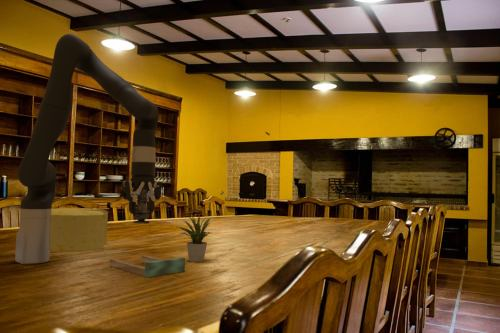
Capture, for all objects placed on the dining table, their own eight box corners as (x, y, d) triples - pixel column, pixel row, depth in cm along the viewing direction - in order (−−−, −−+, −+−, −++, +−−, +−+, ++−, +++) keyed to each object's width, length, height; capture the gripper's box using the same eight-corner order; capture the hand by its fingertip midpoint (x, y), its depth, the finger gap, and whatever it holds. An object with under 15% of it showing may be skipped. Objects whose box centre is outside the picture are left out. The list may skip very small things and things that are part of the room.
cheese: (122, 246, 175) (123, 210, 175) (65, 254, 153) (67, 213, 153) (82, 240, 189) (83, 207, 189) (24, 247, 167) (26, 209, 167)
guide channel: (147, 277, 119) (148, 263, 120) (109, 265, 134) (110, 253, 134) (184, 271, 129) (185, 258, 129) (145, 261, 144) (145, 249, 144)
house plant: (194, 255, 159) (195, 211, 159) (224, 259, 151) (226, 213, 152) (168, 260, 146) (170, 213, 147) (200, 265, 139) (202, 215, 140)
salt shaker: (148, 223, 133) (149, 185, 133) (129, 223, 133) (130, 185, 133) (152, 222, 139) (153, 185, 139) (134, 221, 139) (135, 185, 139)
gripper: (130, 159, 129) (128, 215, 128) (168, 162, 139) (167, 213, 139) (117, 160, 134) (115, 213, 133) (155, 162, 144) (153, 212, 144)
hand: (141, 213), depth 136 cm, fingers closed on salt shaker, 6 cm apart
